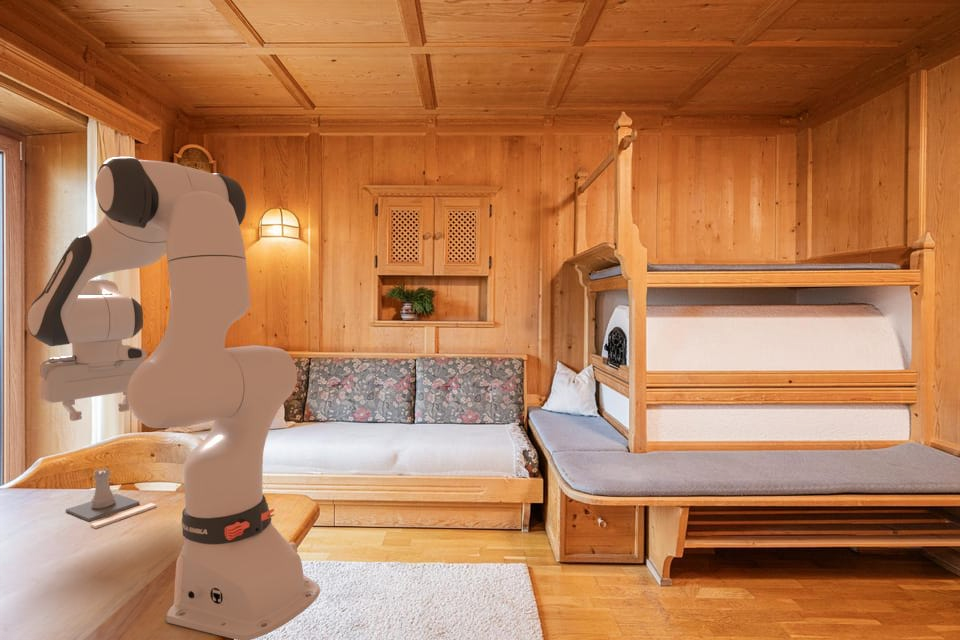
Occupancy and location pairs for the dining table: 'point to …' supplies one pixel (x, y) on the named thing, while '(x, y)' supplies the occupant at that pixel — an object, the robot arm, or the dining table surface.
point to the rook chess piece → (102, 490)
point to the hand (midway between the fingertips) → (100, 415)
